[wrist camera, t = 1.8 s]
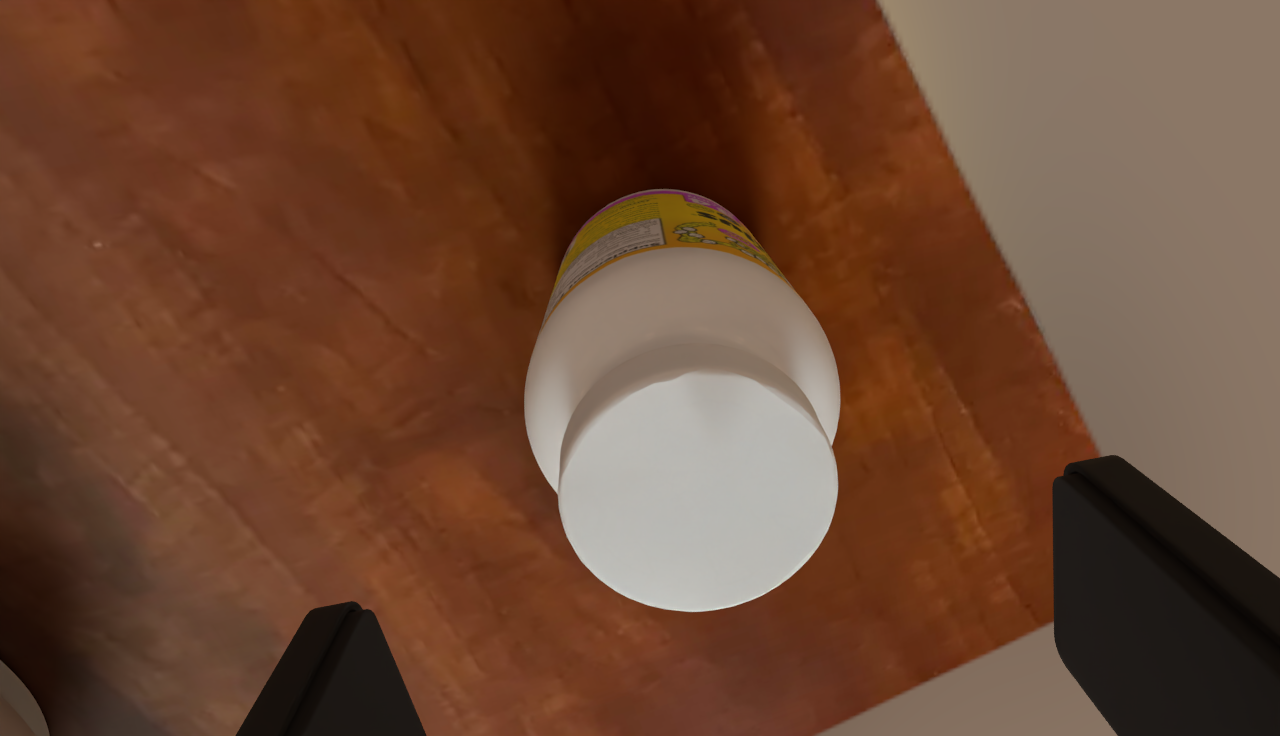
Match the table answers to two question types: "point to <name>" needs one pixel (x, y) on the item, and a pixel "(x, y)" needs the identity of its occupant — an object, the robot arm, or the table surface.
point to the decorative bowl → (18, 708)
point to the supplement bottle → (683, 406)
